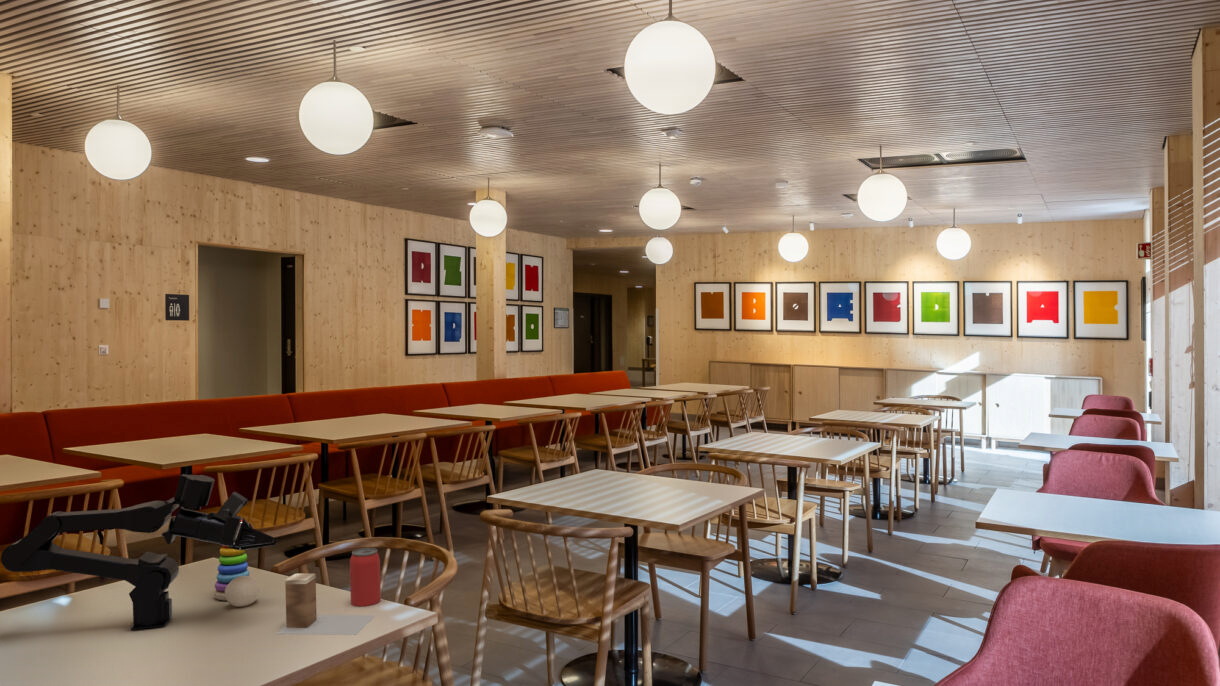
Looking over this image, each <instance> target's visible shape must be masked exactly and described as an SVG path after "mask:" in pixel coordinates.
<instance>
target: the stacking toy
mask: <svg viewBox="0 0 1220 686" xmlns="http://www.w3.org/2000/svg"><path fill="white" fill-rule="evenodd" d="M242 520H243V519H242ZM242 520H240V521H242ZM221 546H222V547H221V548H220V549H219V553H220V556H219V558H218V561H219V565H218V566H217V571H218V573H217V574H216V580H217V581H216V582H215V584H214V589H215V591H214V593H213V595H214V598H215V599H217V600H219V601H228V600H227V599H226V598H225V588H226V586H227V585H228V584H229V583H230V582H231V581H232V580H233V579H235V578H237V577H240V576H250V571H249V569H248V567H249V564H248V562H247V559H248V555H247V553H245V552H246V550H235V549H231V548H230V547H229V546H225V545H221Z"/></svg>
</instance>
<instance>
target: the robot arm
mask: <svg viewBox="0 0 1220 686" xmlns="http://www.w3.org/2000/svg"><path fill="white" fill-rule="evenodd" d="M214 484H215V478H213V477H211V476H208V475H203V474H200V475H197V474H185V473H183V474H181V475H179V478H178V481H177V487H176V492H175V495H174V497H172V498H170V499H167V500H165V501H163V500H153V501H148V502H143V503H139V504H135V505H133V506H129V507H123V508H115V509H113V508H112V509H111V508H110V509H97V510H96V509H95V510H79V511H77V510H76V511H59V510H58V511H54V512H52V513H51V514H49V515H47V516H45V517H44V518H43V519H42V520H41V522H40V523H39V524H37V526H35V527H34V528H33V529H32V530H31V531H29V532H28V533H27V534H25V536H24V537H22V538H21V539H18V540H17V541H16V542H13V543H12V544H10V545H8V546H7V547H5V548H4V549H3V551H2V552H1V555H0V561H1V565H2V566H3V567H4V569H5V570H7V571H9V572H12V573H30V572H31V573H33V572H39V571H47V570H54V571H59V572H68V573H73V574H81V575H87V576H94V577H101V578H109V579H114V580H122V581H125V582H127V583H129V584H130V585H132V586H133V587H134V588H133V589H132V590H131V591H130V592H129V593H128V595H129V598H130V600H131V602H132V623H133V624H132V626H131V627H130V630H131V631H137V630H145V629H154V628H164V627H166V626H167V624H168V623H169V621H170V620H171V619H172V617H173V602H172V601H173V599H172V598H171V597H169V596H170V595H169V593H170V592H169V591H167V590H168V589H169V587H170V585H171V583H173V581H174V580H175V579H176V578H177V577H178V574H179V572H180V571H179V570H180V568H179V564H178V563H177V562H176V559H174V558H172V557H169V556H168V553H163V554H162V553H161V554H159V553H156V552H152V551H146V552H145V553H144V554H143V555H142V556H140V557H139V558H130V557H129V558H128V557H122V556H116V555H109V554H104V553H103V554H102V553H96V552H95V553H94V552H89V551H82V550H77V549H70V548H64V547H60V546H59V545H58V544H56V543H54V542H53V541H54V540H55V539H56V538H57V537H58V536H59V534H61V533H72V532H73V533H77V532H88V531H89V532H90V531H104V530H105V531H106V530H124V531H129V532H133V533H142V534H143V533H144V534H151V533H156V532H157V531H159V530H160V529H161V528H163V527H164V526H165V525H166V524H168V526H167V530H164V531H163V532H162V533H161V536H162V537H163V538H164V540H165V542H166V544H167V545H171V543H173V542H174V541H175V540H176V537H183V538H189V539H193V540H196V541H197V540H198V541H202V542H205V543H213V544H218V545H221V546H222V545H225V546H229V547H230V548H231V549H235V550H245V551H246V550H253V549H259V548H265V547H273V546H276V545H277V543H278V540H277V539H275V537H274V536H272V535H269V534H268V533H265V532H263V531H260V530H258V529H255V528H254V527H253V525H252V524H251V523H250V522H248V521H247V520H246V518H243V517H242V516H240V515H238V513H239V512H240V511H241V510H242V509H243V507H245V506H246V505H247V503H248V502H249V500H248V498H246V497H244V496H243V495H241V494H240V493H238V492H237V491H233V492H232V493H231V495H230V496H229V497H227V499H226V500H225V502H223V505H222V506H221V507H220V509H219V510H218V511H217V512H209V513H207V512H202V511H199V510H202V507H207V506H208V504H209V500H210V497H211V493H212V490H213V487H214ZM175 510H177V511H176V515H175V516H172V513H173V512H174V511H175ZM240 520H242V521H240Z"/></svg>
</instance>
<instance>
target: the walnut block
mask: <svg viewBox="0 0 1220 686" xmlns="http://www.w3.org/2000/svg"><path fill="white" fill-rule="evenodd" d="M284 582H285V583H284V585H285V589H284V590H285V620H286V622H285V624H286V625H285V626H286V628H308V627H309V626H310V625H311V624H313V623H314V622H315V621H316V620H317V615H318V614H317V588H316V587H317V581H316V573H294V574H292V575H290V576H289V577H288V578H286V579H285V580H284Z"/></svg>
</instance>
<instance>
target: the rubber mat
mask: <svg viewBox="0 0 1220 686" xmlns="http://www.w3.org/2000/svg"><path fill="white" fill-rule="evenodd" d="M375 617H376V614H368V615H367V614H317V620H316V621H315V622H314V623H313V624H311V625H310V626H309V627H308V628H286V625H284V626H283V627H282V628H281V629H280V630H278V631H277V632H275V635H321V636H322V635H326V636H327V635H335V636H336V635H337V636H339V635H340V636H342V635H345V636H348V635H349V636H357V635H358V634H359V633H360V632H361V631H362V630H363V629H364V628H365V627H366V626H367V624H369V623H370V622H371V621H372V620H373V619H374V618H375Z"/></svg>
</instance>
